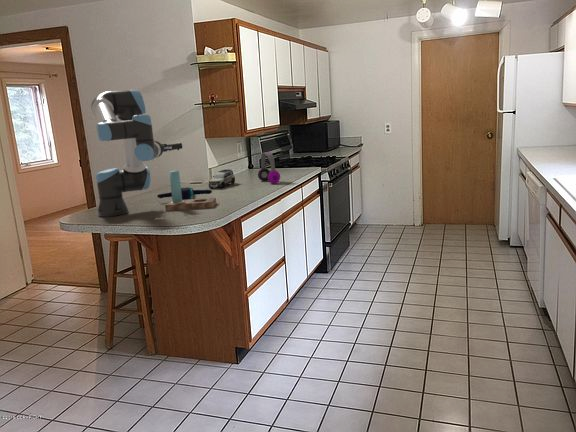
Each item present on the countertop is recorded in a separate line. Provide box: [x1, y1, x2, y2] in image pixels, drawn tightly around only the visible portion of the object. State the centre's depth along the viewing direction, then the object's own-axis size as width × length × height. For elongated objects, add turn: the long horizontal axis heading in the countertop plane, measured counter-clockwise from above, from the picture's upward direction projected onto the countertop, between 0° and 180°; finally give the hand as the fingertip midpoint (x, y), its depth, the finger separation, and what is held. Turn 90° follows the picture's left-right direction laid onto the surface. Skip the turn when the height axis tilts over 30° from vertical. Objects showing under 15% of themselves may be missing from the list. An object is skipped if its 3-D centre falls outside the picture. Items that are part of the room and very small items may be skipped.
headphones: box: [257, 151, 281, 185], centre depth 331 cm, size 21×9×20 cm, turn 25°
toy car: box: [208, 168, 236, 189], centre depth 330 cm, size 13×24×10 cm, turn 168°
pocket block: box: [164, 197, 217, 212], centre depth 261 cm, size 24×12×4 cm, turn 88°
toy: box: [156, 187, 213, 200], centre depth 291 cm, size 31×8×30 cm
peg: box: [168, 170, 182, 203], centre depth 259 cm, size 5×5×16 cm
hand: (165, 145), depth 245 cm, fingers open, 13 cm apart
